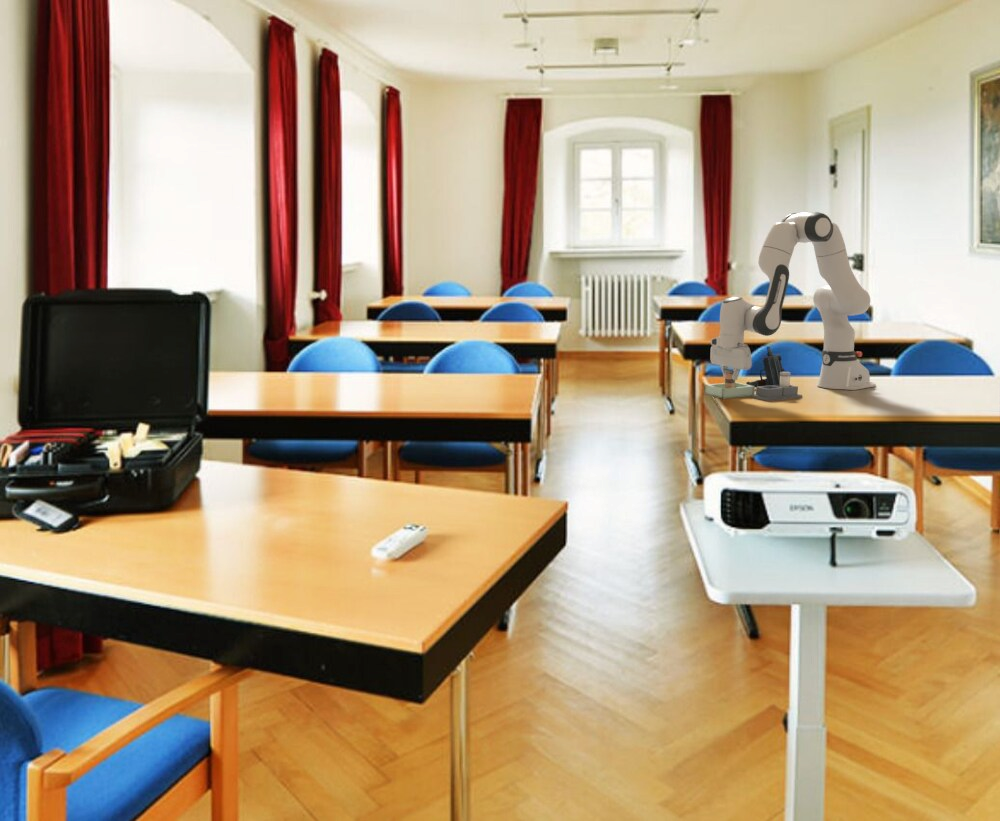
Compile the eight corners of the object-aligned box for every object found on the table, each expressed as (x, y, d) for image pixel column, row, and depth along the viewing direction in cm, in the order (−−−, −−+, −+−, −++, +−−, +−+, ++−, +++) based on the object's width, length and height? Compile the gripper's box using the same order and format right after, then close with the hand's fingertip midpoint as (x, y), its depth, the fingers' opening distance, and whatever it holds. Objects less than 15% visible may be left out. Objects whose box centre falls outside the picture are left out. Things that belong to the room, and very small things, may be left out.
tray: (735, 391, 385) (735, 382, 385) (754, 395, 376) (754, 386, 375) (705, 394, 380) (705, 384, 379) (723, 398, 370) (723, 389, 369)
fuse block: (785, 393, 379) (786, 383, 378) (802, 397, 371) (802, 386, 370) (751, 397, 373) (751, 386, 372) (767, 401, 365) (767, 390, 364)
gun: (741, 352, 391) (779, 344, 383) (750, 394, 392) (788, 387, 384) (739, 353, 389) (777, 345, 381) (748, 395, 390) (786, 388, 382)
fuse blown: (730, 390, 380) (731, 368, 378) (736, 391, 376) (737, 370, 375) (722, 390, 378) (723, 369, 377) (728, 392, 375) (729, 370, 373)
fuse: (784, 392, 376) (785, 371, 374) (791, 394, 372) (792, 372, 371) (776, 393, 374) (777, 372, 373) (783, 395, 371) (784, 373, 369)
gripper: (756, 344, 366) (755, 382, 368) (721, 338, 384) (720, 374, 387) (742, 345, 363) (741, 383, 366) (707, 339, 382) (706, 375, 384)
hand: (730, 378), depth 376 cm, fingers closed on fuse blown, 4 cm apart
